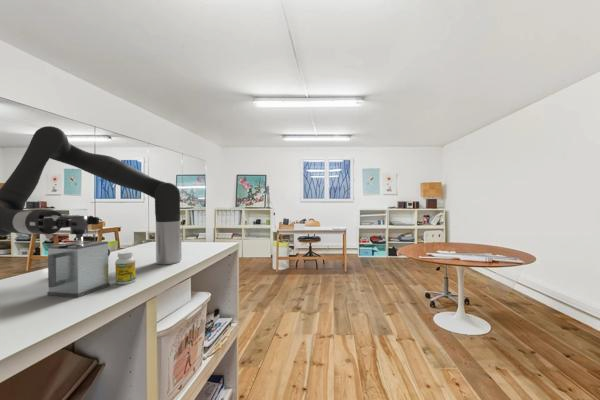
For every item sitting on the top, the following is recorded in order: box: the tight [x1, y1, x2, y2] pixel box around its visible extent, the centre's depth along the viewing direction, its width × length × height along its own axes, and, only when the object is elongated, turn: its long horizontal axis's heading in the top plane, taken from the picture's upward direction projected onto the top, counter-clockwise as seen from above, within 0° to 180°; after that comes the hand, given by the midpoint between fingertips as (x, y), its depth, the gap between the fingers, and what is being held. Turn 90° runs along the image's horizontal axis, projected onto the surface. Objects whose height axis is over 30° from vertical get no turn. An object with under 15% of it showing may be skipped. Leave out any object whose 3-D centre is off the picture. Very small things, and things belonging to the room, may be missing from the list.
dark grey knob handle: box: [69, 215, 89, 245], centre depth 79 cm, size 7×7×18 cm
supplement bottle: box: [115, 250, 137, 285], centre depth 87 cm, size 5×5×10 cm
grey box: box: [46, 240, 111, 298], centre depth 78 cm, size 13×10×14 cm
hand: (85, 221), depth 79 cm, fingers open, 8 cm apart
